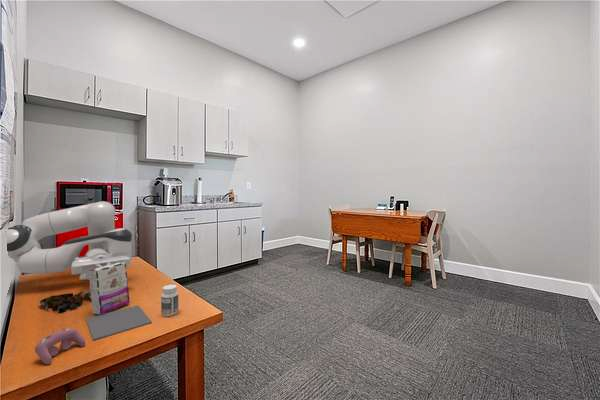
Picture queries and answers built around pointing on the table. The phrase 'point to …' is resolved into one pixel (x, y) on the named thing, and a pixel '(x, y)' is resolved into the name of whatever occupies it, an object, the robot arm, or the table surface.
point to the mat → (116, 322)
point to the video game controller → (66, 336)
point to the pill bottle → (169, 300)
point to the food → (66, 301)
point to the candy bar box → (108, 287)
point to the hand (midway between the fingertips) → (105, 268)
